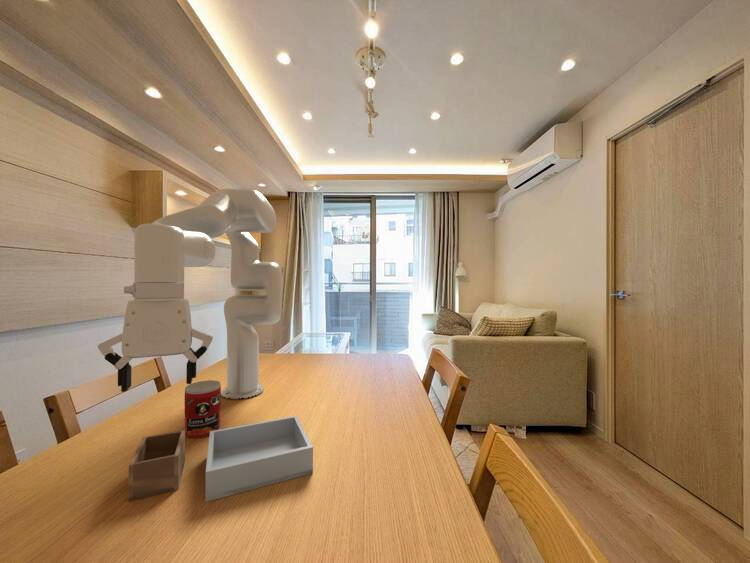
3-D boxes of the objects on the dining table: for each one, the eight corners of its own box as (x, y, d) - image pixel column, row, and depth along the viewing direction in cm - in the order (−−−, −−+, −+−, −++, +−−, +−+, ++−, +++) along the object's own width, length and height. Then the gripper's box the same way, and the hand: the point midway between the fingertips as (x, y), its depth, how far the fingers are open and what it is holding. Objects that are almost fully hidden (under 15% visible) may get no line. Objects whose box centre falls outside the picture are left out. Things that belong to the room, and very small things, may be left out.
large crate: (209, 455, 65) (209, 431, 64) (296, 436, 72) (296, 415, 72) (205, 502, 51) (205, 472, 51) (312, 473, 59) (313, 447, 59)
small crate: (143, 467, 60) (143, 437, 60) (185, 459, 63) (185, 429, 63) (128, 501, 51) (128, 465, 51) (178, 489, 54) (178, 455, 54)
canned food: (183, 442, 70) (183, 393, 70) (186, 426, 77) (186, 382, 77) (220, 434, 73) (221, 388, 73) (220, 420, 80) (220, 378, 80)
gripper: (90, 293, 49) (89, 400, 49) (212, 292, 57) (211, 385, 57) (107, 292, 56) (106, 385, 56) (213, 291, 64) (213, 374, 64)
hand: (159, 385), depth 57 cm, fingers open, 9 cm apart
